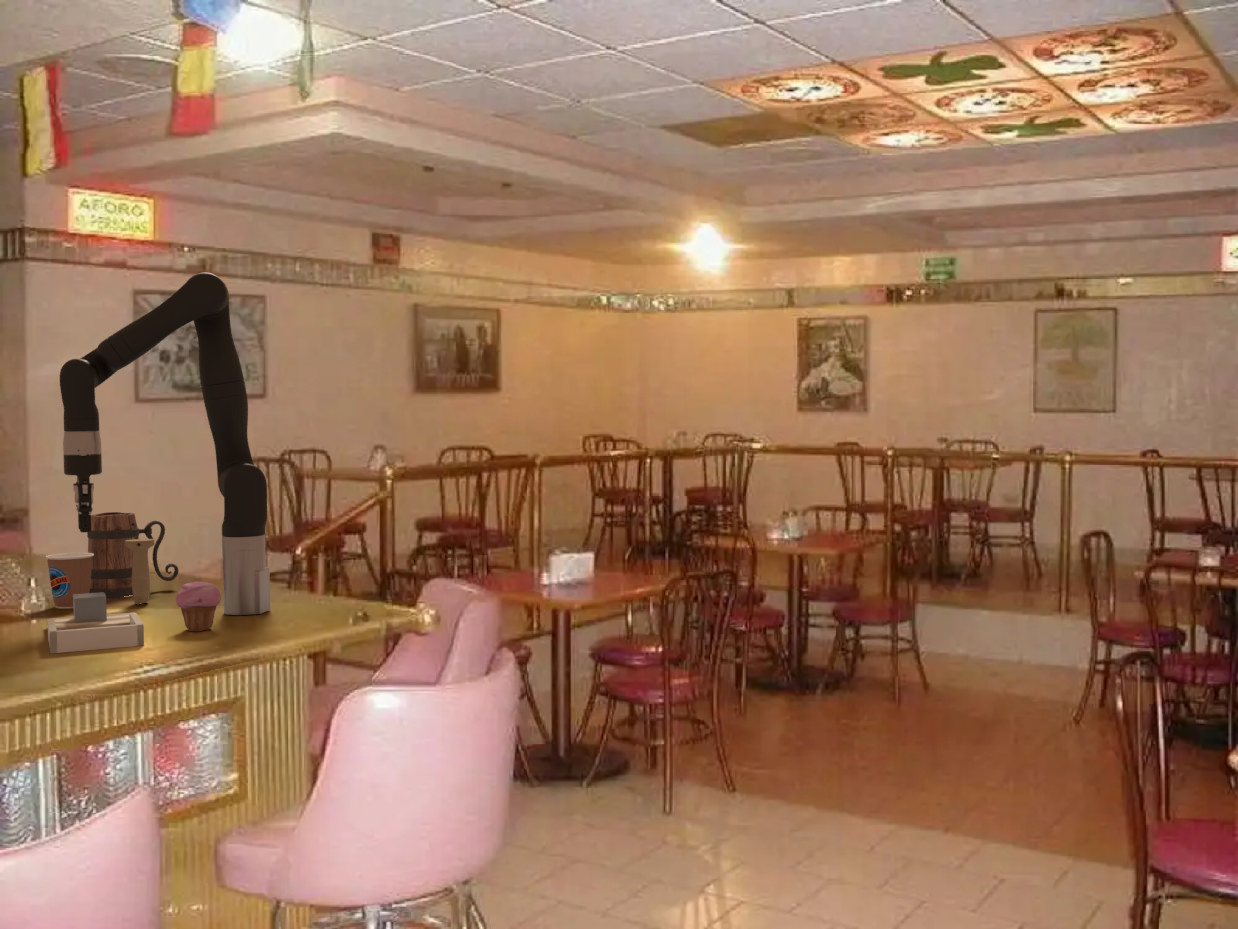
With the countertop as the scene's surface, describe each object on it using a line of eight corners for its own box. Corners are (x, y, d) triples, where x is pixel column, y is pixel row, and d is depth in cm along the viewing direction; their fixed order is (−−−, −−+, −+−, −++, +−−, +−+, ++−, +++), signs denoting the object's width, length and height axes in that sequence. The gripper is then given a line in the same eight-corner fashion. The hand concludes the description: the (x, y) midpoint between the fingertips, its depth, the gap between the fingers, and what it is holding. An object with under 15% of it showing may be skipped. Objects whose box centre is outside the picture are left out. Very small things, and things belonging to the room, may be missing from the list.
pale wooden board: (47, 628, 265) (47, 618, 265) (129, 622, 272) (129, 612, 272) (49, 638, 252) (48, 628, 252) (135, 632, 259) (134, 622, 259)
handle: (155, 604, 296) (153, 540, 296) (125, 606, 295) (123, 541, 294) (157, 601, 301) (155, 538, 300) (128, 603, 299) (126, 539, 299)
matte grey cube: (73, 618, 265) (72, 594, 265) (104, 615, 268) (103, 592, 268) (75, 623, 259) (74, 598, 259) (106, 620, 262) (106, 596, 261)
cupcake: (173, 628, 263) (172, 580, 262) (216, 624, 267) (215, 577, 267) (181, 635, 255) (180, 585, 255) (225, 631, 259) (224, 582, 259)
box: (48, 639, 252) (47, 618, 252) (136, 631, 259) (135, 612, 259) (50, 653, 237) (49, 632, 237) (144, 645, 244) (143, 624, 244)
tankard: (81, 601, 304) (78, 517, 303) (75, 592, 319) (72, 512, 318) (183, 593, 315) (181, 512, 314) (173, 585, 330) (171, 508, 329)
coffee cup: (37, 608, 294) (36, 556, 293) (77, 601, 302) (75, 551, 302) (65, 611, 288) (63, 558, 288) (104, 605, 297) (103, 553, 296)
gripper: (62, 452, 277) (64, 529, 278) (64, 453, 264) (67, 534, 265) (99, 451, 281) (101, 527, 281) (103, 452, 268) (105, 532, 268)
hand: (84, 530), depth 273 cm, fingers open, 5 cm apart
